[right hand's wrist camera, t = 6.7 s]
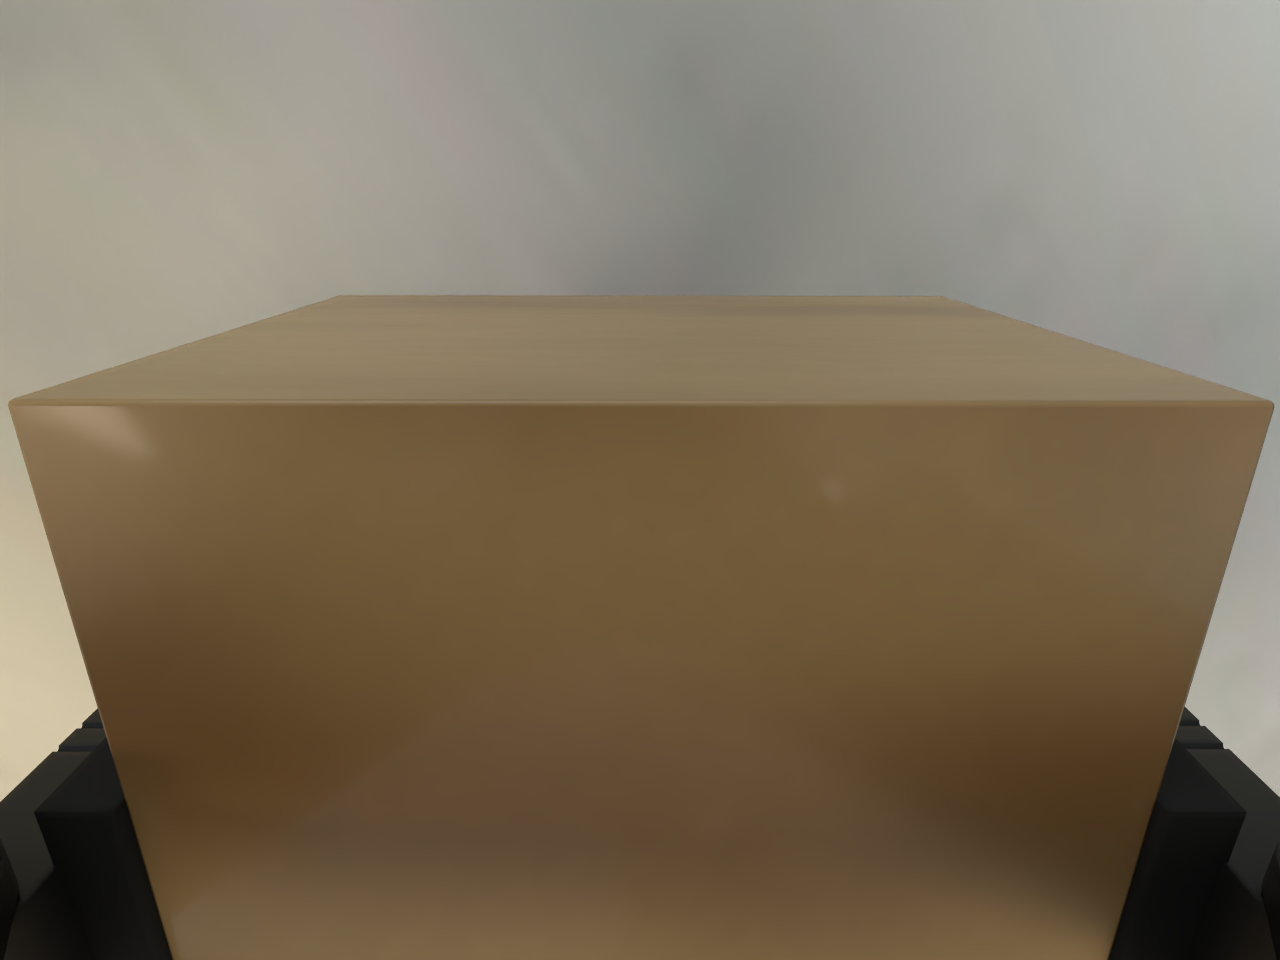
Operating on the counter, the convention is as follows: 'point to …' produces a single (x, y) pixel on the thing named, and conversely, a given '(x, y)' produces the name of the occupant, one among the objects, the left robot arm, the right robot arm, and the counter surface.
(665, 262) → the counter surface
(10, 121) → the counter surface
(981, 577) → the long beam
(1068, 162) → the counter surface
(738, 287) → the counter surface
